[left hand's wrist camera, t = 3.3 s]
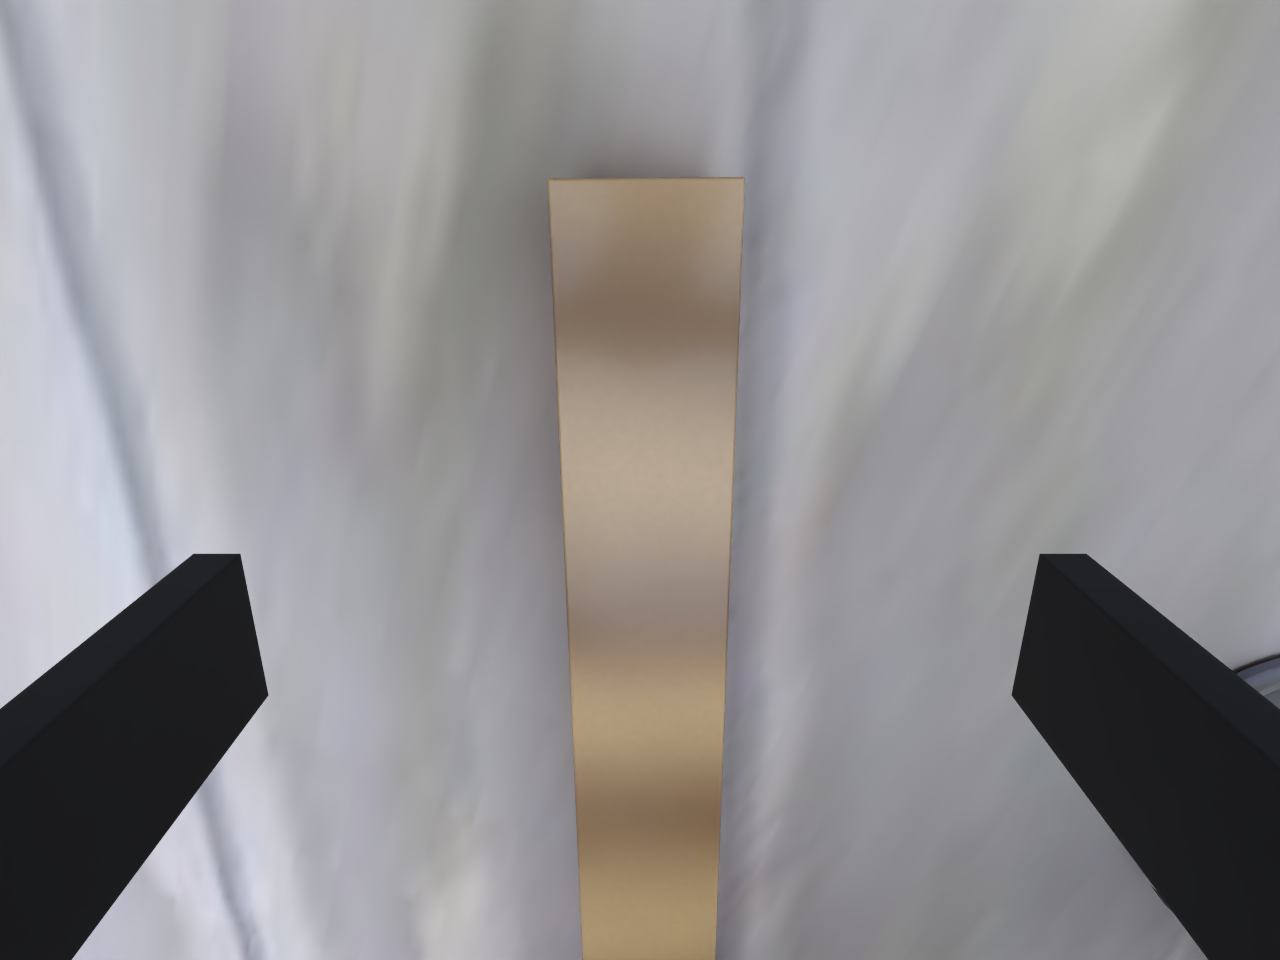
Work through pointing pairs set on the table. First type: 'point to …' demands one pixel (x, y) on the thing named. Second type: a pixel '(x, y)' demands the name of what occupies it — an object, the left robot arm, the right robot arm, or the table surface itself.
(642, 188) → the bar
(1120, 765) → the left robot arm
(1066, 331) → the table surface
